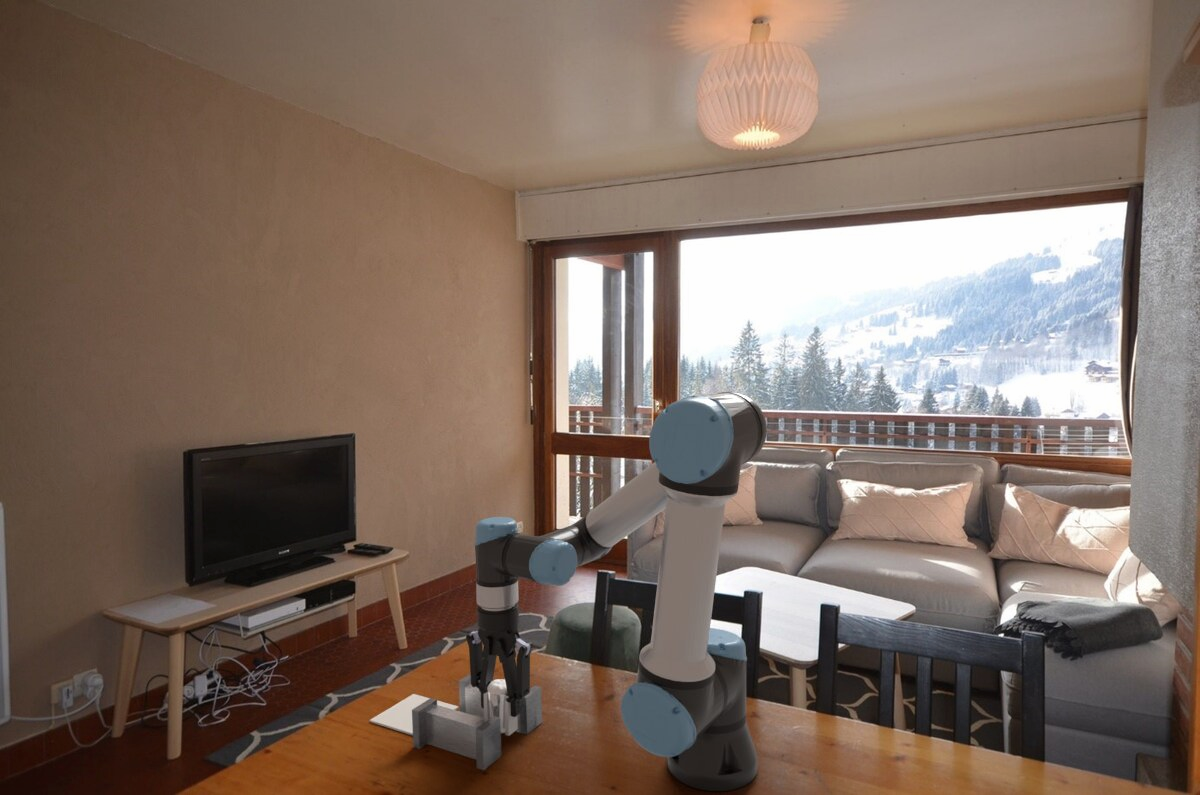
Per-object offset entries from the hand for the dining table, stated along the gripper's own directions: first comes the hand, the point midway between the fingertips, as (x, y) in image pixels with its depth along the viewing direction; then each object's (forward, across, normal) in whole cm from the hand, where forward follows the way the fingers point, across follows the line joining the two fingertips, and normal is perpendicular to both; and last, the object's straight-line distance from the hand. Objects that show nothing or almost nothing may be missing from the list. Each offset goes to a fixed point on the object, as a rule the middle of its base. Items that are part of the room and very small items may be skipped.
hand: (501, 728), depth 134 cm
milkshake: (0, 0, 0) cm, 0 cm away
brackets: (+2, +5, 0) cm, 6 cm away
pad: (+2, +21, 0) cm, 21 cm away
